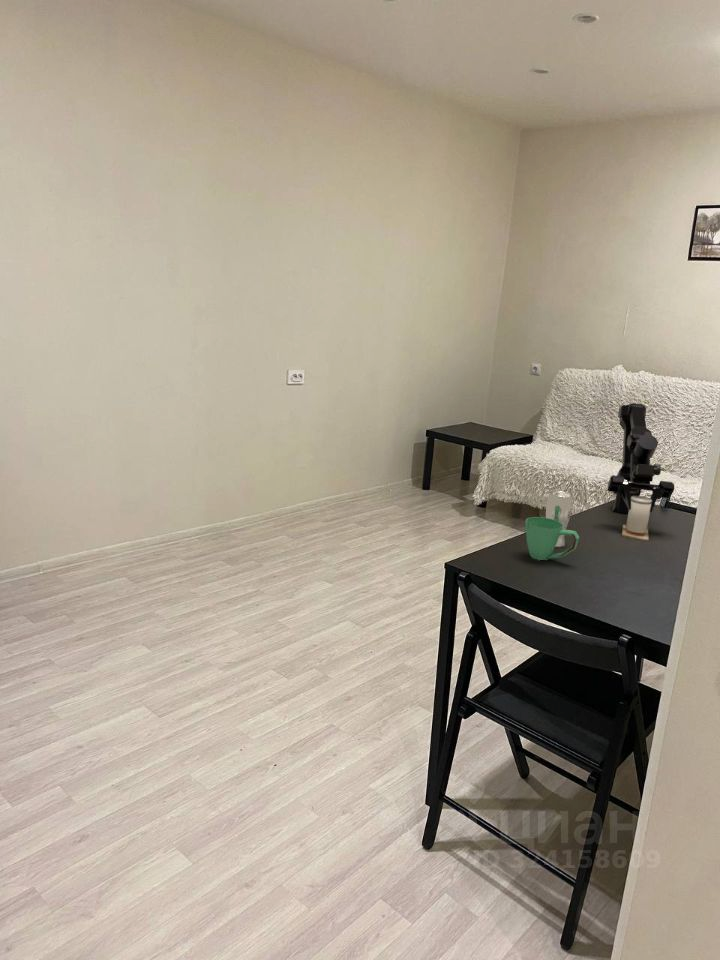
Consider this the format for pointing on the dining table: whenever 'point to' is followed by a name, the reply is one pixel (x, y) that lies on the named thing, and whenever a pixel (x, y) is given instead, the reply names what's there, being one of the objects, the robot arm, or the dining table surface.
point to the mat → (634, 534)
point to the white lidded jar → (639, 514)
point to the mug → (546, 537)
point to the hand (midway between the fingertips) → (640, 510)
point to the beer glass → (559, 510)
